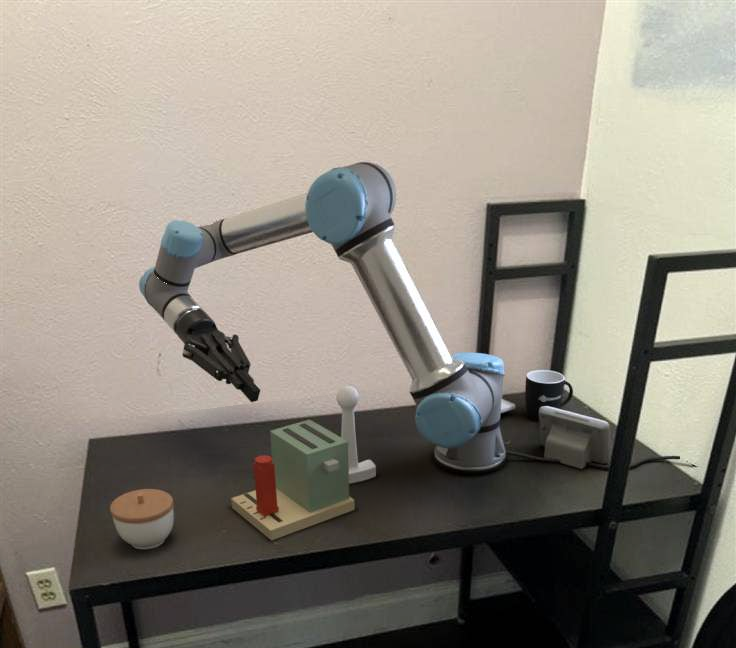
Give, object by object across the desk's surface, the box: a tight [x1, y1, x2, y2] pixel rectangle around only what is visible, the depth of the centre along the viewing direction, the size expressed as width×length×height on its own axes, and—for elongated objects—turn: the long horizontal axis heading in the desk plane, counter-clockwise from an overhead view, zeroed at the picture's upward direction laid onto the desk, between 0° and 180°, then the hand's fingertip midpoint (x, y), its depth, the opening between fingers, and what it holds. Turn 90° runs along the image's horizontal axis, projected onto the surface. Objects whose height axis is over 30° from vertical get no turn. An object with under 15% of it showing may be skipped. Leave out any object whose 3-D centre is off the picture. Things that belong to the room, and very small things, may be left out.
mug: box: [524, 369, 574, 422], centre depth 186 cm, size 12×9×10 cm
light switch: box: [501, 398, 517, 414], centre depth 189 cm, size 10×10×5 cm
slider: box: [252, 454, 279, 516], centre depth 142 cm, size 3×3×11 cm
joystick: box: [335, 385, 377, 484], centre depth 158 cm, size 11×8×20 cm
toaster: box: [230, 419, 356, 541], centre depth 146 cm, size 16×18×14 cm
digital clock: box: [538, 406, 611, 470], centre depth 166 cm, size 16×9×11 cm, turn 39°
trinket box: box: [109, 488, 175, 550], centre depth 138 cm, size 11×11×9 cm
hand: (255, 396), depth 150 cm, fingers closed
